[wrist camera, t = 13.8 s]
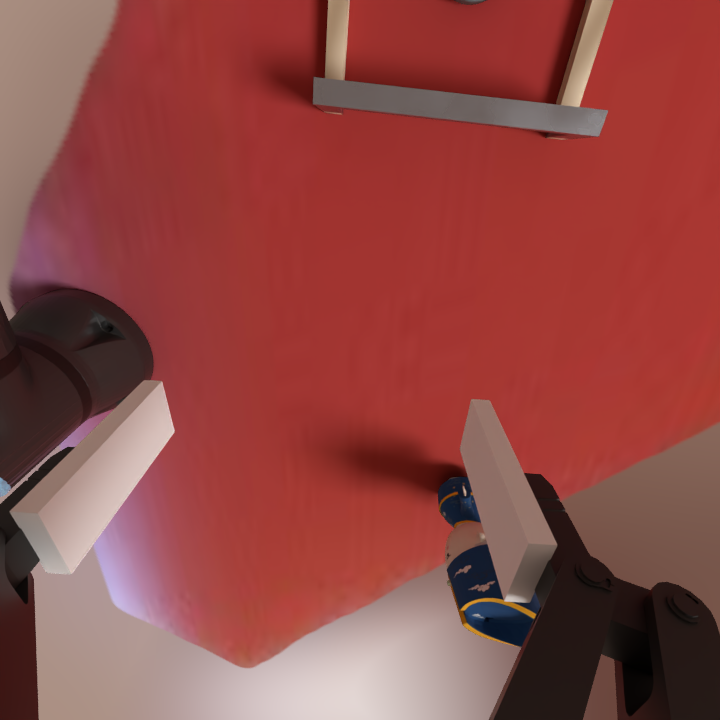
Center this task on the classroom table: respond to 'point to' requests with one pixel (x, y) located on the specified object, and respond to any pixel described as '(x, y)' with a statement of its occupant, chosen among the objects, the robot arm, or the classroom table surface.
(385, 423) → the classroom table surface
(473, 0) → the grooved blue cylinder
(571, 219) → the classroom table surface
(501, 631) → the figurine
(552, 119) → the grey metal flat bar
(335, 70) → the shelf frame
